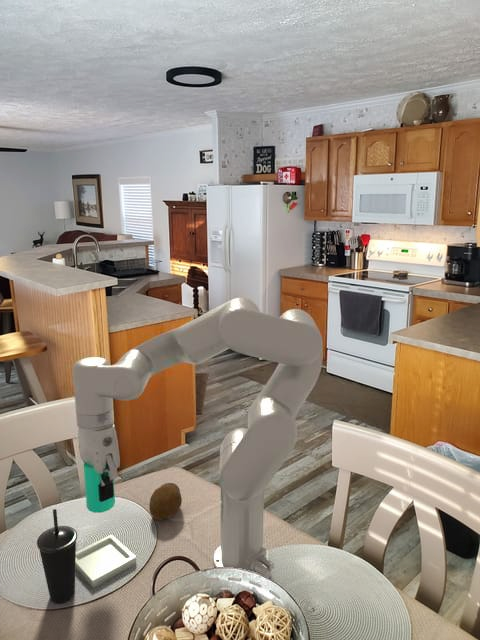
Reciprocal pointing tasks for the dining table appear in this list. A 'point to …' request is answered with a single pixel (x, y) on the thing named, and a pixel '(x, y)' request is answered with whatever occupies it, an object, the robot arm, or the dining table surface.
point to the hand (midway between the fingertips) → (100, 492)
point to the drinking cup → (59, 560)
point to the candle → (95, 491)
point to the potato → (165, 501)
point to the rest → (103, 560)
